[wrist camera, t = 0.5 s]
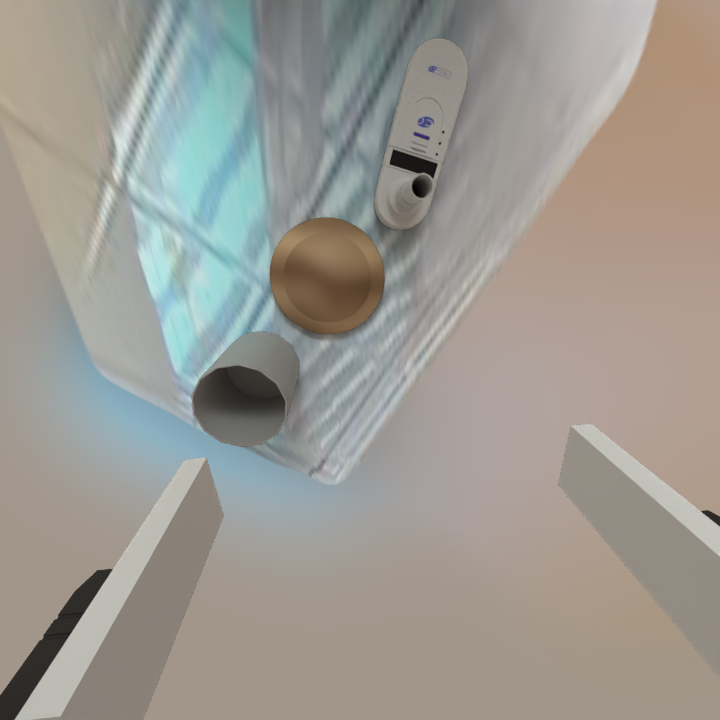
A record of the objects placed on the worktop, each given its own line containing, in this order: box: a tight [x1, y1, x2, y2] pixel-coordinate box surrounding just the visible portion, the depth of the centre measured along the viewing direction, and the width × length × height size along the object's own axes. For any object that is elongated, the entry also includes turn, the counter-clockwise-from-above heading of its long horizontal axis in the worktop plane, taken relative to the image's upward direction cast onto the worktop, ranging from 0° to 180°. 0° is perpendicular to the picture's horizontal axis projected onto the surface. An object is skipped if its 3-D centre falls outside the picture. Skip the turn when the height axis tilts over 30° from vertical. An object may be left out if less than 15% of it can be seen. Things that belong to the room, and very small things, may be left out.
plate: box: [270, 218, 384, 334], centre depth 35 cm, size 12×12×1 cm
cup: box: [191, 331, 299, 447], centre depth 34 cm, size 8×8×10 cm
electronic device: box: [374, 38, 468, 230], centre depth 27 cm, size 5×10×15 cm
